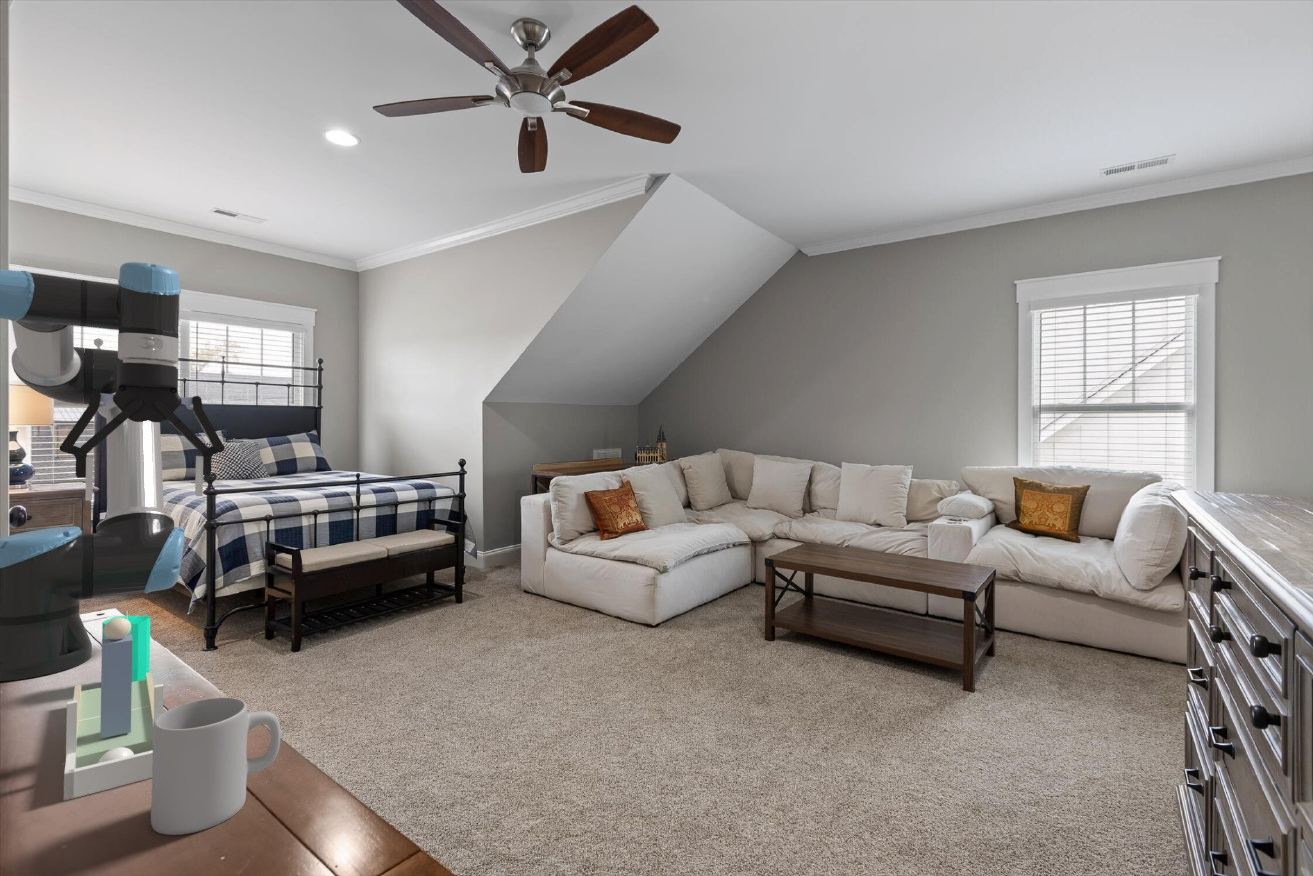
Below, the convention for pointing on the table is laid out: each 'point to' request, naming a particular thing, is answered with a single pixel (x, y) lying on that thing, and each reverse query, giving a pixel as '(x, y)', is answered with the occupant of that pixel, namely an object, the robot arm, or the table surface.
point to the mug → (204, 763)
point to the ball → (116, 754)
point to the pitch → (136, 740)
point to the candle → (138, 644)
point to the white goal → (104, 772)
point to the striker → (116, 678)
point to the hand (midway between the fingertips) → (146, 497)
